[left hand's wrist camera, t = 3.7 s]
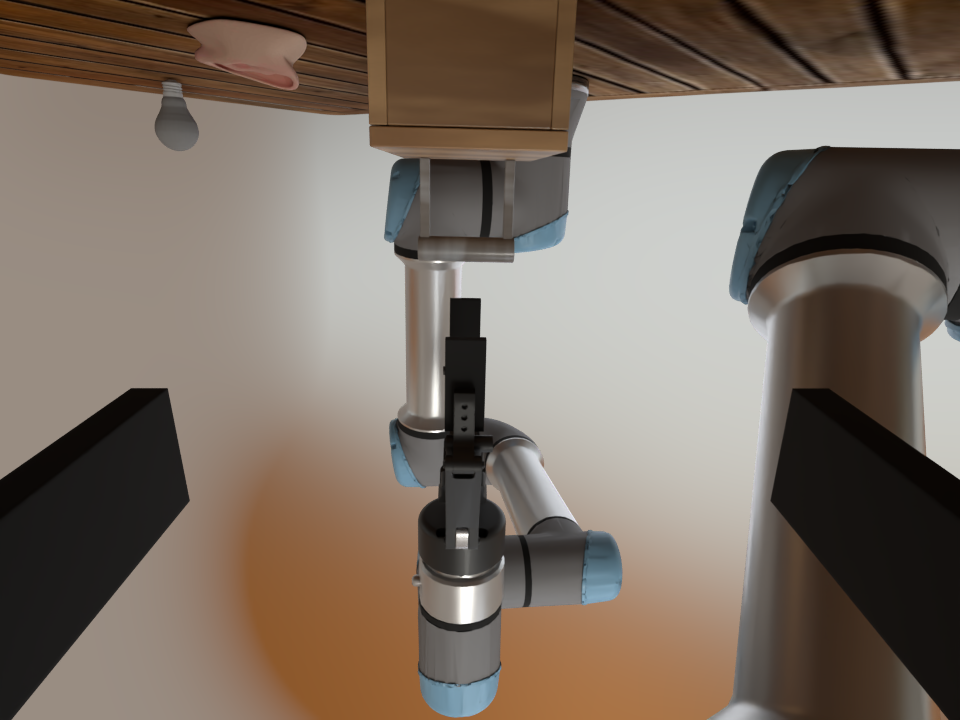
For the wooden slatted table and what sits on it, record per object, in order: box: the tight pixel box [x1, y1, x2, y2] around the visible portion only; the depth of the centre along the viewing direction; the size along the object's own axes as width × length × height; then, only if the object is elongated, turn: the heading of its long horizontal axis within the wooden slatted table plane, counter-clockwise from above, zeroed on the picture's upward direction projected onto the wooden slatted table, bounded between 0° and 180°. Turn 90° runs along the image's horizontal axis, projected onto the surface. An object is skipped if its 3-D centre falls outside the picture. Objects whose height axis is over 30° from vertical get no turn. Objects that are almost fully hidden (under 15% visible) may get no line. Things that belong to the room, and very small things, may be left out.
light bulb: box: [155, 80, 199, 151], centre depth 90 cm, size 6×6×10 cm
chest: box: [366, 0, 577, 131], centre depth 34 cm, size 16×10×11 cm, turn 179°
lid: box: [369, 126, 569, 263], centre depth 37 cm, size 16×10×8 cm, turn 179°
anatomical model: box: [187, 19, 307, 90], centre depth 60 cm, size 13×4×12 cm
